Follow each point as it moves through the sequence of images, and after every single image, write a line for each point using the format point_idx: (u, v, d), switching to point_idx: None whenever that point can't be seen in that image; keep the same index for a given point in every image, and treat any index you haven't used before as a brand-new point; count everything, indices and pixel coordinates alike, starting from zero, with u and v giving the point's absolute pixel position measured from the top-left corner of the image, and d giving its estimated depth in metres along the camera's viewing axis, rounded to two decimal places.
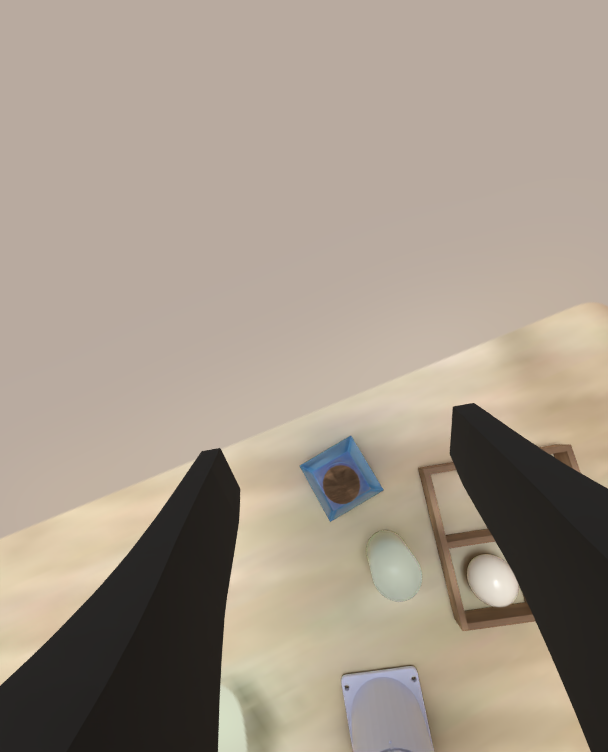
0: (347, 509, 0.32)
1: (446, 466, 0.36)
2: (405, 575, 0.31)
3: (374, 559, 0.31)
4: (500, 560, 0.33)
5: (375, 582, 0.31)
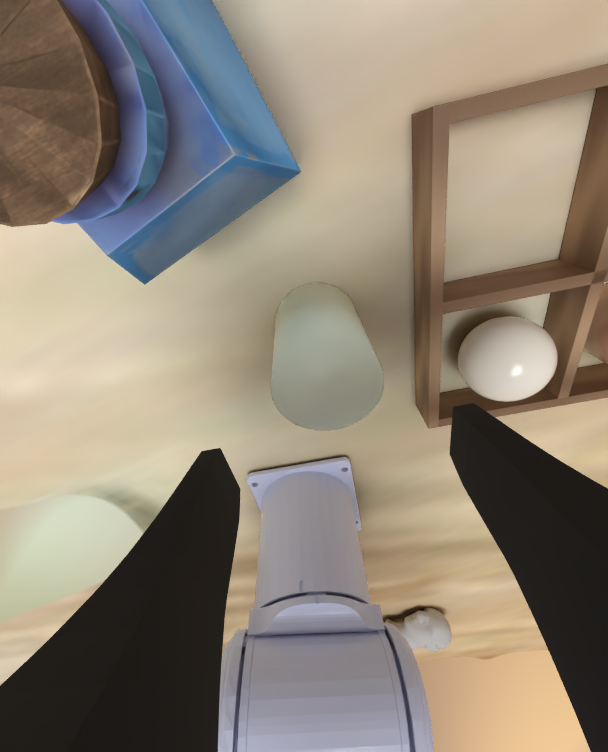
0: (182, 245, 0.10)
1: (504, 92, 0.12)
2: (345, 388, 0.13)
3: (276, 363, 0.13)
4: (539, 330, 0.16)
5: (279, 405, 0.14)
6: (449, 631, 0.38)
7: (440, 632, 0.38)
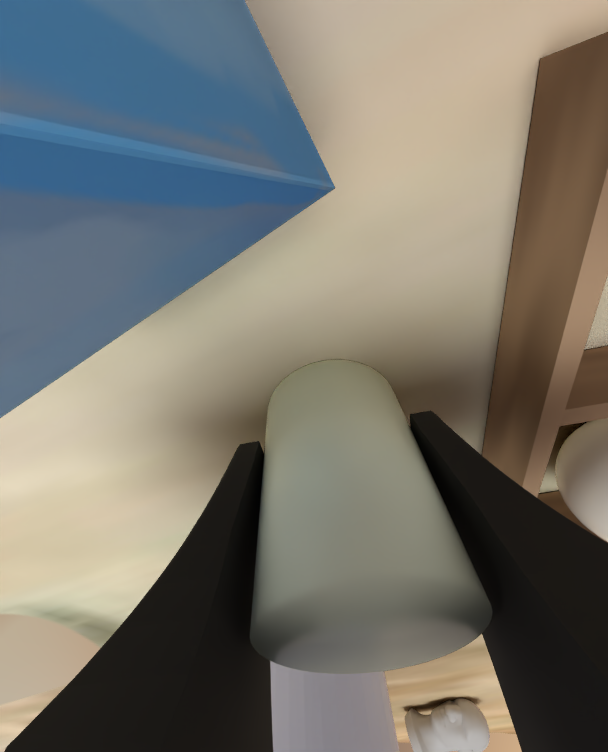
0: None
1: None
2: (408, 632, 0.06)
3: (261, 599, 0.06)
4: None
5: (269, 656, 0.07)
6: (488, 731, 0.32)
7: (477, 735, 0.31)
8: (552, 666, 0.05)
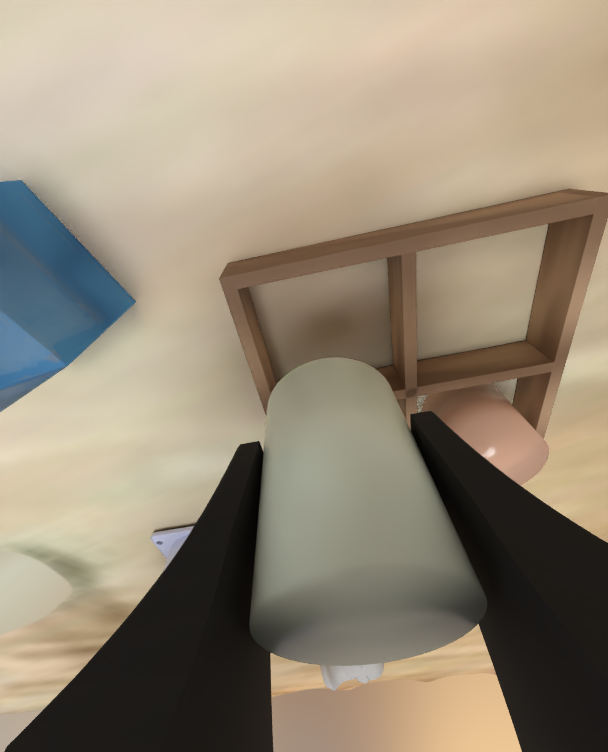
0: None
1: (278, 267, 0.14)
2: (405, 624, 0.07)
3: (263, 587, 0.06)
4: None
5: (266, 645, 0.07)
6: None
7: (370, 664, 0.40)
8: (552, 666, 0.05)
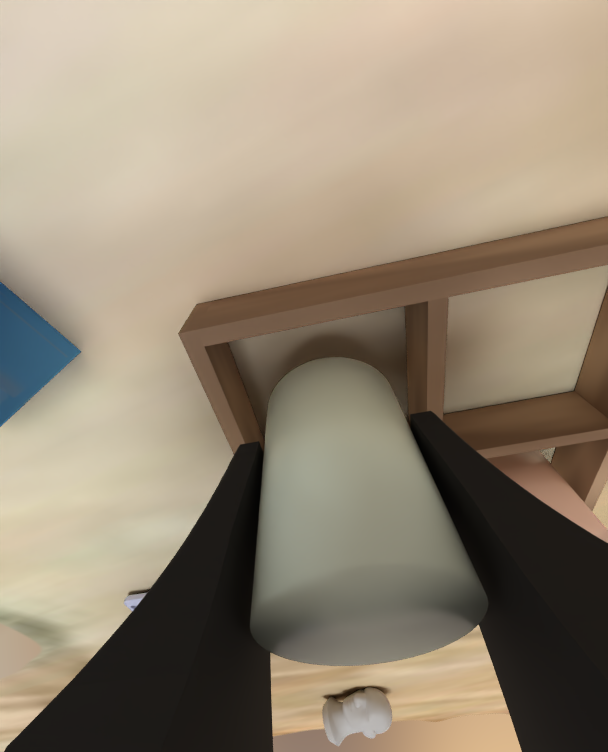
0: None
1: (259, 319, 0.10)
2: (405, 624, 0.06)
3: (264, 587, 0.06)
4: None
5: (267, 645, 0.07)
6: (388, 714, 0.37)
7: (377, 717, 0.36)
8: (552, 666, 0.05)
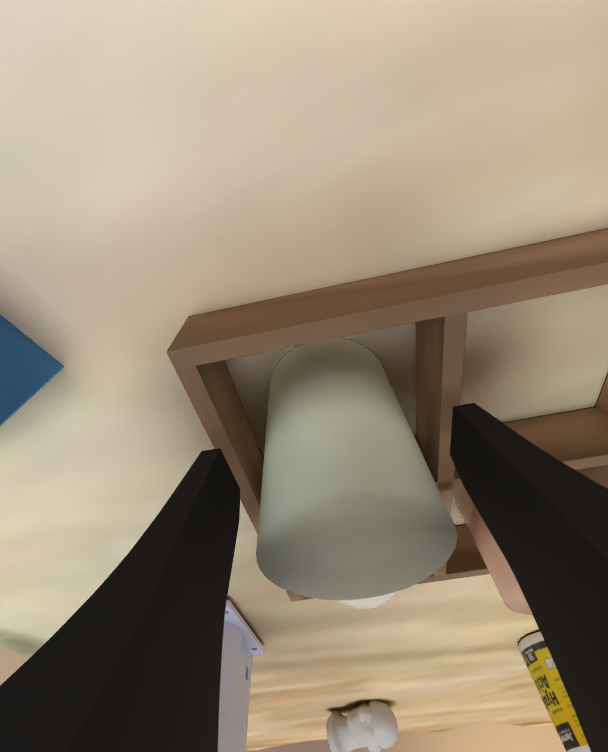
0: None
1: (256, 336, 0.09)
2: (388, 554, 0.08)
3: (268, 518, 0.07)
4: None
5: (270, 575, 0.08)
6: (394, 729, 0.36)
7: (382, 732, 0.35)
8: None
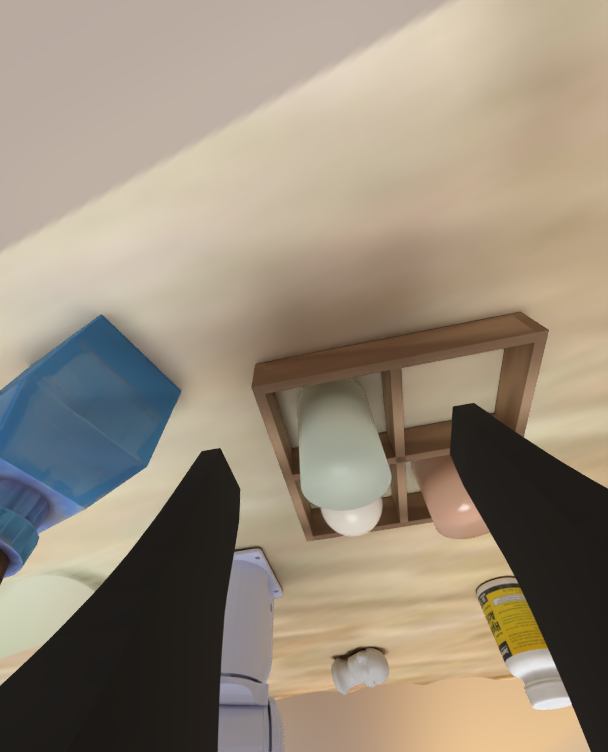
0: None
1: (296, 379, 0.18)
2: (360, 483, 0.17)
3: (306, 464, 0.16)
4: None
5: (306, 494, 0.17)
6: (385, 668, 0.45)
7: (375, 670, 0.44)
8: None
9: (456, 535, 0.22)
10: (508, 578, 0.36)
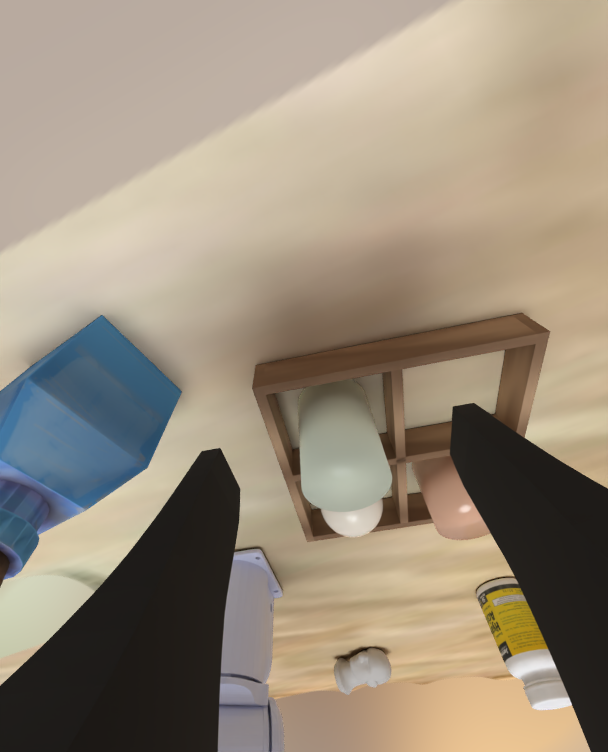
0: None
1: (297, 380, 0.18)
2: (361, 484, 0.17)
3: (307, 466, 0.16)
4: None
5: (306, 495, 0.17)
6: (387, 668, 0.45)
7: (377, 670, 0.45)
8: None
9: (457, 536, 0.22)
10: (508, 578, 0.36)
